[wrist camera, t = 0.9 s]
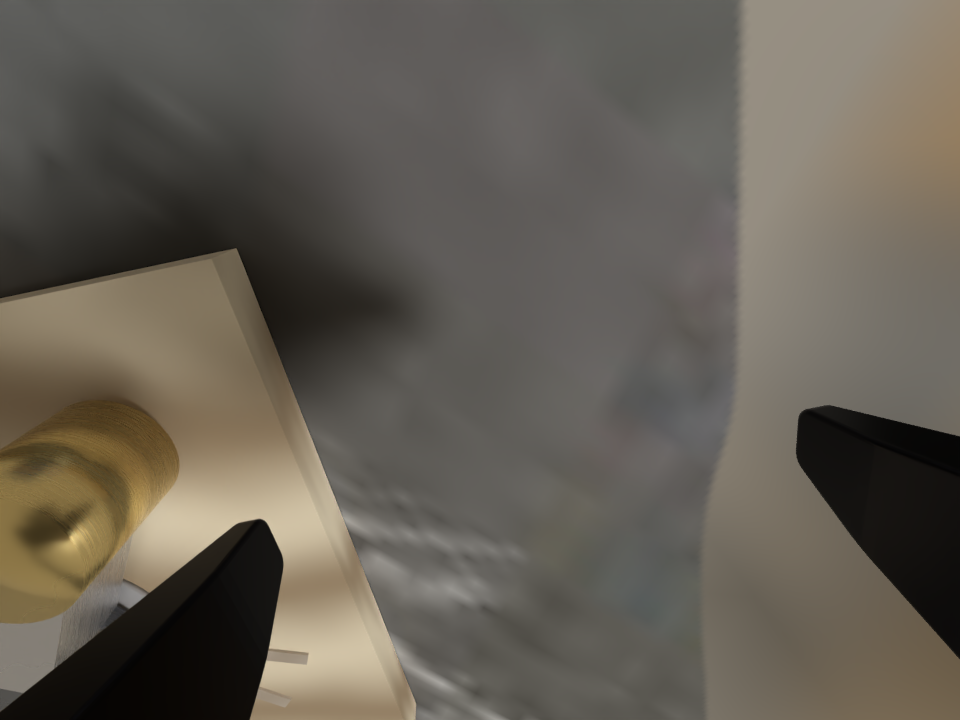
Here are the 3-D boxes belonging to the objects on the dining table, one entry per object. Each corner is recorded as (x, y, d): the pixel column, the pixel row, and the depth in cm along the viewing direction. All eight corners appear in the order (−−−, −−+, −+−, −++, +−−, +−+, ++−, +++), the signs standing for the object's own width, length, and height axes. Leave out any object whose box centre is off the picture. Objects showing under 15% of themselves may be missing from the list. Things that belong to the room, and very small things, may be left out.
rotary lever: (135, 741, 18) (58, 884, 14) (-18, 713, 17) (-141, 860, 13) (221, 434, 13) (137, 535, 10) (17, 370, 12) (-160, 457, 9)
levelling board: (416, 704, 21) (413, 749, 19) (19, 779, 21) (-16, 829, 20) (236, 247, 13) (207, 260, 12) (-383, 379, 14) (-494, 409, 12)
